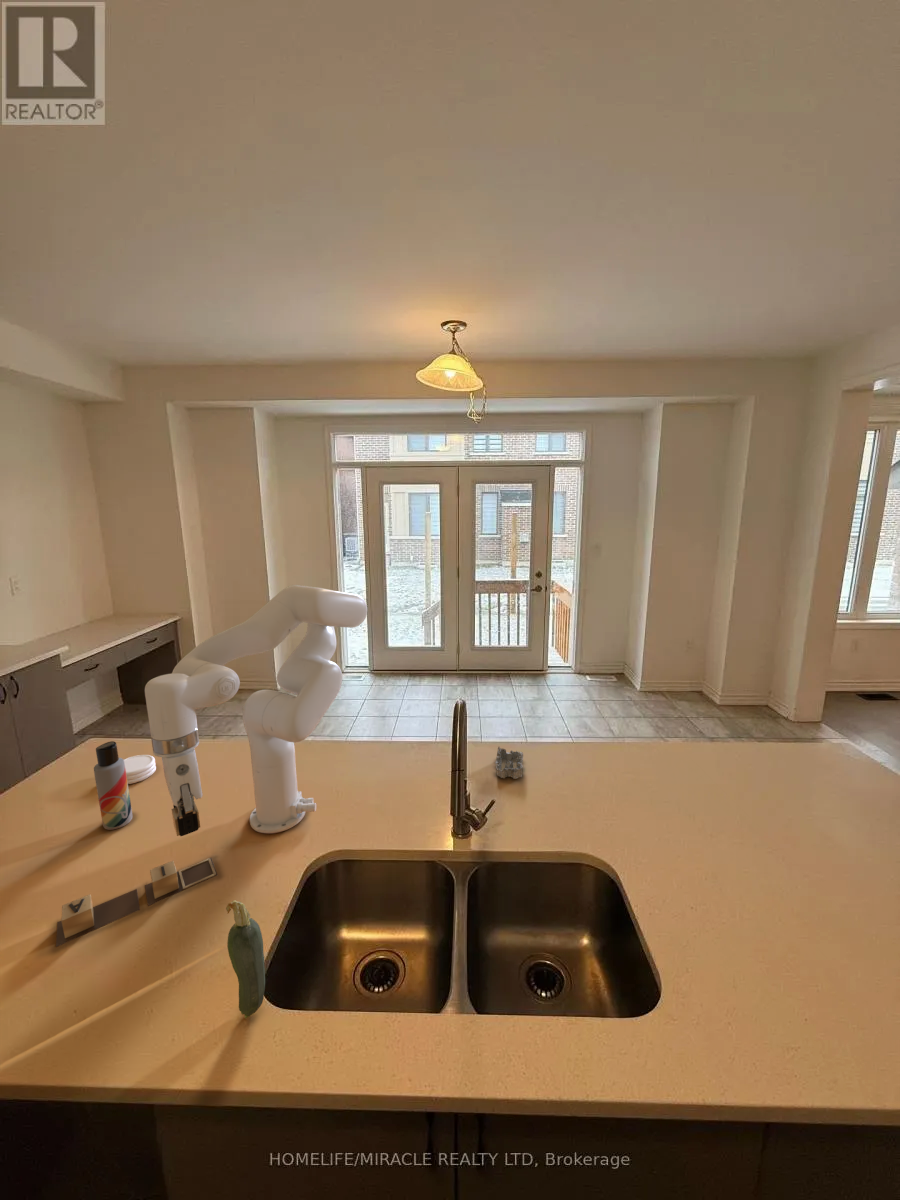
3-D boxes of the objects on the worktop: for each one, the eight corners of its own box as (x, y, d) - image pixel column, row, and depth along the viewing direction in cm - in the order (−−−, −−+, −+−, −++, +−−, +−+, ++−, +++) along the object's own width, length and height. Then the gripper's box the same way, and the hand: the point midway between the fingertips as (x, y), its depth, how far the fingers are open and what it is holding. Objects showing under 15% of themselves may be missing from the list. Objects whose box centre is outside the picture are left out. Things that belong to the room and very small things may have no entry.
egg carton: (497, 757, 136) (497, 745, 135) (523, 760, 135) (523, 747, 134) (494, 778, 126) (494, 764, 125) (522, 781, 124) (522, 767, 124)
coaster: (160, 775, 127) (158, 763, 127) (116, 790, 121) (114, 778, 120) (151, 761, 134) (150, 750, 134) (109, 774, 128) (108, 763, 127)
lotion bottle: (117, 832, 105) (104, 751, 101) (97, 828, 106) (83, 749, 102) (138, 815, 111) (127, 739, 107) (118, 812, 112) (106, 736, 108)
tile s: (196, 816, 93) (194, 800, 92) (200, 827, 90) (198, 810, 89) (173, 825, 90) (171, 808, 90) (177, 836, 87) (174, 819, 87)
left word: (137, 890, 89) (134, 872, 88) (140, 911, 84) (137, 892, 84) (57, 924, 82) (53, 904, 81) (56, 948, 77) (52, 928, 76)
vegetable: (273, 1000, 69) (262, 886, 65) (263, 1033, 65) (250, 913, 61) (243, 1001, 69) (231, 887, 65) (231, 1034, 65) (216, 914, 61)
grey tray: (211, 859, 97) (209, 842, 96) (217, 876, 92) (215, 858, 92) (144, 887, 90) (142, 868, 89) (148, 907, 85) (145, 888, 84)
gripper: (207, 751, 82) (217, 841, 86) (190, 718, 95) (200, 797, 99) (158, 766, 78) (171, 860, 81) (147, 729, 91) (159, 811, 94)
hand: (186, 825), depth 90 cm, fingers closed on tile s, 4 cm apart
